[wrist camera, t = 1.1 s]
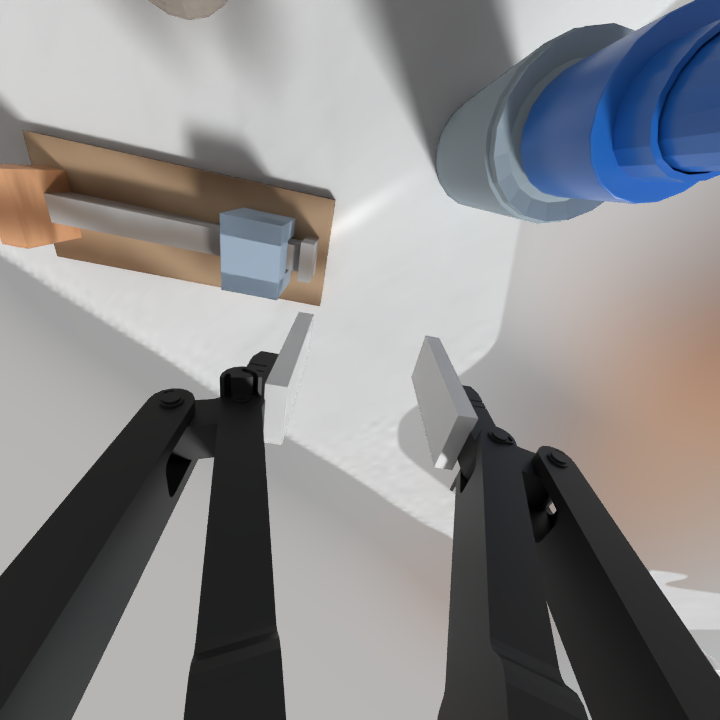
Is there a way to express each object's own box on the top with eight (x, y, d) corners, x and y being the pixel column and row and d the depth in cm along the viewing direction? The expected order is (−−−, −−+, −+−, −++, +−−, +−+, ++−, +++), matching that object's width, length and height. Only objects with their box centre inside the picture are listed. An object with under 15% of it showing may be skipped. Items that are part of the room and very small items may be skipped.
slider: (244, 207, 30) (219, 213, 25) (295, 218, 31) (282, 226, 26) (243, 272, 33) (221, 289, 28) (289, 281, 34) (276, 300, 29)
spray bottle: (554, 122, 28) (1217, -78, 6) (495, 222, 32) (773, 309, 10) (468, 71, 26) (971, -437, 5) (418, 183, 30) (559, 194, 9)
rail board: (32, 131, 28) (-57, 119, 22) (335, 199, 31) (329, 204, 25) (65, 254, 34) (0, 270, 28) (320, 303, 37) (312, 327, 30)
